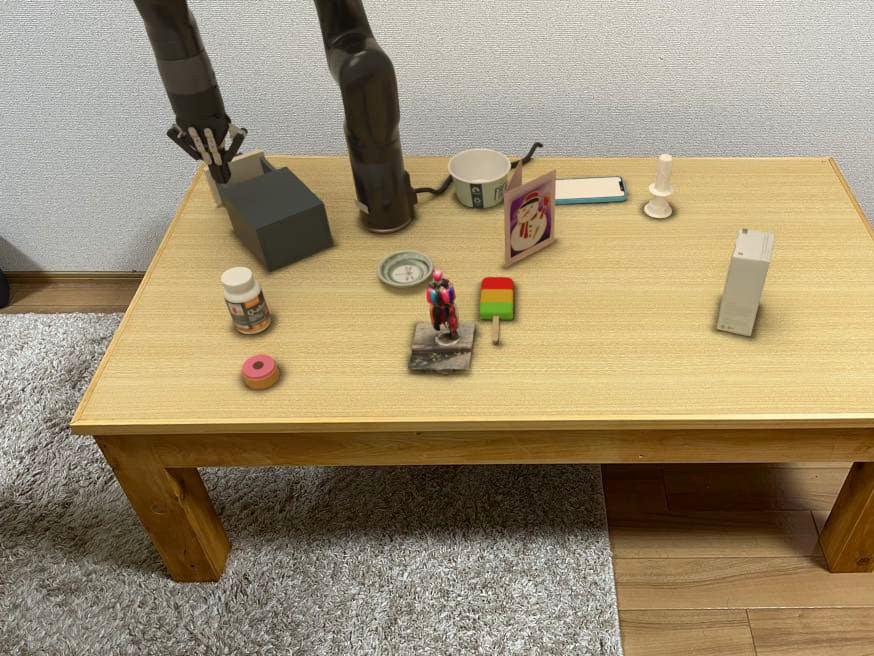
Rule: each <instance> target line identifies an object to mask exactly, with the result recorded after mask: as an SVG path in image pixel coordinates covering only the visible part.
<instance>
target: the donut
mask: <svg viewBox="0 0 874 656" xmlns="http://www.w3.org/2000/svg"><path fill="white" fill-rule="evenodd" d="M241 375H242V377H243V380H244V382H245V385H246V386H247V387H248V388H251V389H253V390H265V389H267V388H270V387H273V386H274V385H275V384H276V383H277V382H278V381H279V379H280V378H281V377H280V376H281V372H280V369H279V366H278V363H277V361H276V359H274V358H273V357H272V356H271V355H269V354H255V355H252V356H250V357H248V358H247V359H246V360H245V361H244V362H243V364H242V366H241Z"/></svg>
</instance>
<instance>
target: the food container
mask: <svg viewBox="0 0 874 656" xmlns="http://www.w3.org/2000/svg"><path fill="white" fill-rule="evenodd" d="M511 169H512V167H511V161H510V159H509V157H508V156H506V155H505V153H502V152H500V151H497V150H494V149H490V148H470V149H467V150H463V151H460V152H458V153H456V154H455V155H453V156H452V157H451V158H450V159H449V161H448V163H447V170H448V173H449V175H452V178H453V180H452V181H453V186H454V189H455V193H456V196H457V199H458V200H459V202H460V203H461V204H463V205H464V206H466V207H469V208H475V209H486V208H490V207H494V206H496V205H498V204H499V203H501V202H502V201H503V200H504V192H505V190H506V188H507V181H508V175H509V173H510V171H511Z"/></svg>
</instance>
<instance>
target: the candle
mask: <svg viewBox="0 0 874 656" xmlns="http://www.w3.org/2000/svg"><path fill="white" fill-rule="evenodd" d="M655 172H656V175H655V182H653V183H651V184H649V186H648V191H649V193H651V194H652V195H654V197H653V198H651V199H650V200H649V202H648V203H647V204H645V205H644V207H643V211H644V213H645V214H646V215H647V216H649V217H651V218H653V219H665V218H667V217H669V216H671V215H672V212H673V209H672V207H671V206H670V203H669V201H668V200H667V198H666V197H669V196H671V195H673V193H674V192H675V189H674V187H673V186H672V185H671V184H670V180H671V174H672V172H673V156H672V155H671V154H669V153H662V154H660V155H659V157H658V160H657V164H656V168H655Z"/></svg>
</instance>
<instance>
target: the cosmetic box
mask: <svg viewBox="0 0 874 656" xmlns="http://www.w3.org/2000/svg"><path fill="white" fill-rule="evenodd" d="M775 238H776V234H775V233H773V232H768V231H762V230H756V229H755V230H754V229H747V228H741V227H739V228H738V231H737V235H736V239H735V243H734V247H733V250H732V253H731V257H730V261H729V265H728V269H727V274H726V279H725V283H724V287H723V292H722V295H721V301H720V307H719V313H718V318H717V324H716V329H717V330H719V331H722V332H723V331H724V332H729V333H733V334H736V335H741V336H744V337H745V336H746V337H751V336H752V333H753V329H754V326H755V321H756V317H757V313H758V309H759V305H760V302H761V299H762V294H763V290H764V287H765V283H766V279H767V275H768V271H769V268H770V264H771V260H772V256H773V251H774V245H775Z"/></svg>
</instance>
